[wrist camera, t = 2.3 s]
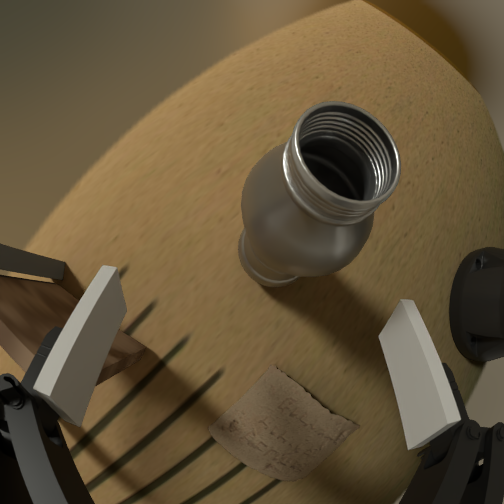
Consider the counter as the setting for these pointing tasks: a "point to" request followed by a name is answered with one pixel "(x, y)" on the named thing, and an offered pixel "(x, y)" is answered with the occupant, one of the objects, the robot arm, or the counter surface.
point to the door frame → (30, 263)
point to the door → (49, 323)
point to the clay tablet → (280, 428)
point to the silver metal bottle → (316, 195)
